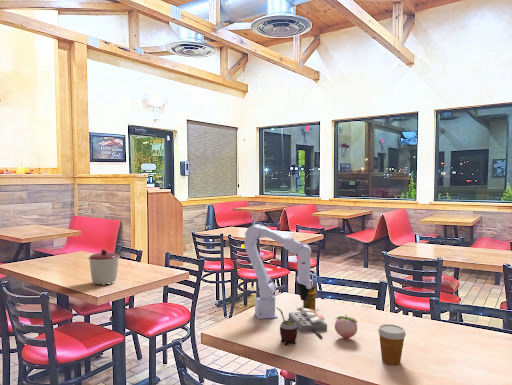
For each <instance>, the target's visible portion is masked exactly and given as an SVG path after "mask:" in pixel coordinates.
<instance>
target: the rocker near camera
mask: <svg viewBox="0 0 512 385" xmlns="http://www.w3.org/2000/svg"><path fill="white" fill-rule="evenodd" d="M319 315H320V316H317V317H313V318H310V321H311V322H312V323H315V322H319V321H322V320H323V321H325V317H324V316H323V315H321V314H319Z"/></svg>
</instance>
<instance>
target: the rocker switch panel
mask: <svg viewBox="0 0 512 385" xmlns="http://www.w3.org/2000/svg"><path fill="white" fill-rule="evenodd" d="M310 318H313V317H308V316H307V315H306V312H302V311H297V312H295V311H292V312H288V319H289V321H293V322H295V323H296V325H297V330H298V331H299V332H301V333H306V332H314V333H315V334H316V335H317V336H318V337H319V338H320V339H323V335H322V334H320V332H319V331H327V330H328V323H326V322H325V320H322V321H319V322H315V323H312V322H311V321H310Z"/></svg>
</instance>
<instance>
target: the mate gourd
mask: <svg viewBox="0 0 512 385" xmlns="http://www.w3.org/2000/svg"><path fill="white" fill-rule="evenodd" d="M275 309H277V310H278V311H279V312H280V315H281V316H282V317H281V318H282V322H281V323H280V326H279V333H280V342H284V345H285V346H288V345H289V344H292V345H295V344H296V345H297V342H296V341H297V336H298V328H297V325H296V323H295V322H293V321H291V320H290V319H289V320H286V319H285V317H284V313H283V311H282V310H281V308H279V307H277V306H275Z"/></svg>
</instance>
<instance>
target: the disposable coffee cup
mask: <svg viewBox="0 0 512 385" xmlns="http://www.w3.org/2000/svg"><path fill="white" fill-rule="evenodd" d="M377 331H378V334H379V343H380V354H381V361H382V362H383V363H385V364H386V363H387V364H386V365H390V366H398V365H397V364H399V365H400V364H401V361H402V354H403V347H404V341H405V337H406V335H407V334H406V331H405V329H404V328H403V327H401V326H400V325H396V324H390V323H389V324H388V323H387V324H381V325H379V328H378V329H377Z"/></svg>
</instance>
